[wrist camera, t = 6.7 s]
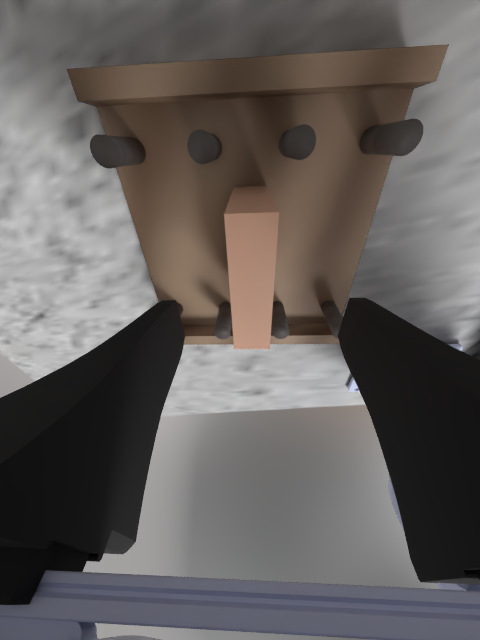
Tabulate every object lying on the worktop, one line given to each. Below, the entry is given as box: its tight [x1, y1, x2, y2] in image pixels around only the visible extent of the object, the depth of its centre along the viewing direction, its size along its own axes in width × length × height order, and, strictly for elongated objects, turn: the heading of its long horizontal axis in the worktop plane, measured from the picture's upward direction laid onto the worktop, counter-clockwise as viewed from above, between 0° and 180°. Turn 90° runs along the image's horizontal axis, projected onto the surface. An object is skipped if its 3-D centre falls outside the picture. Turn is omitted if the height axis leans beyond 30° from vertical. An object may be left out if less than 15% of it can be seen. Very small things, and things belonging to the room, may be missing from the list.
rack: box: [67, 44, 449, 344], centre depth 15 cm, size 16×17×5 cm
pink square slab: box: [224, 186, 279, 349], centre depth 13 cm, size 2×7×7 cm, turn 2°
